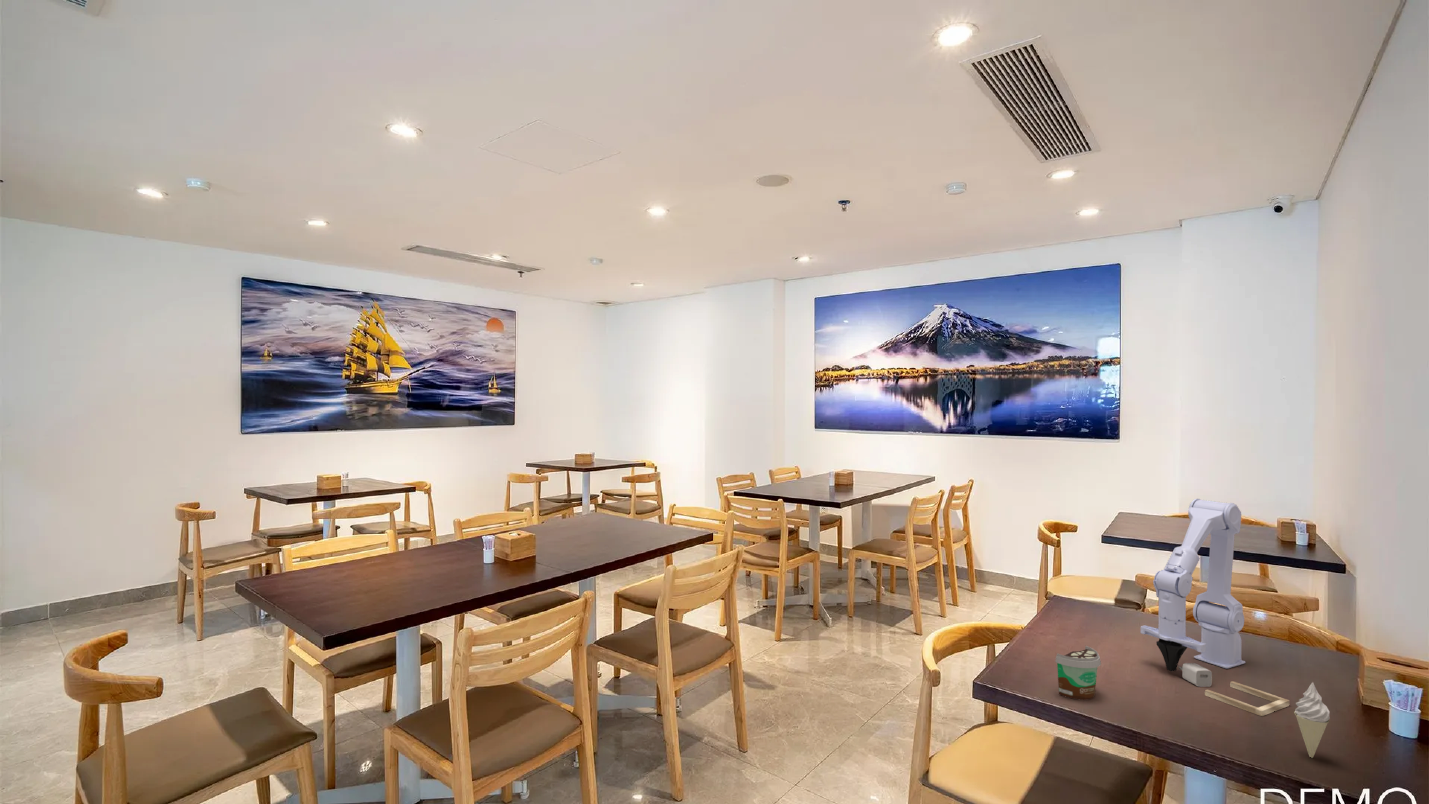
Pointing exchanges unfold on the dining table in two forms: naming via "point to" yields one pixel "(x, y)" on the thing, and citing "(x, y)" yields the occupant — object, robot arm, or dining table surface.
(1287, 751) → the dining table surface
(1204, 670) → the usb wall charger
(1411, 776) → the dining table surface
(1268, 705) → the charger bay
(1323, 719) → the ice cream cone
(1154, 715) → the dining table surface
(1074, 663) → the food container
